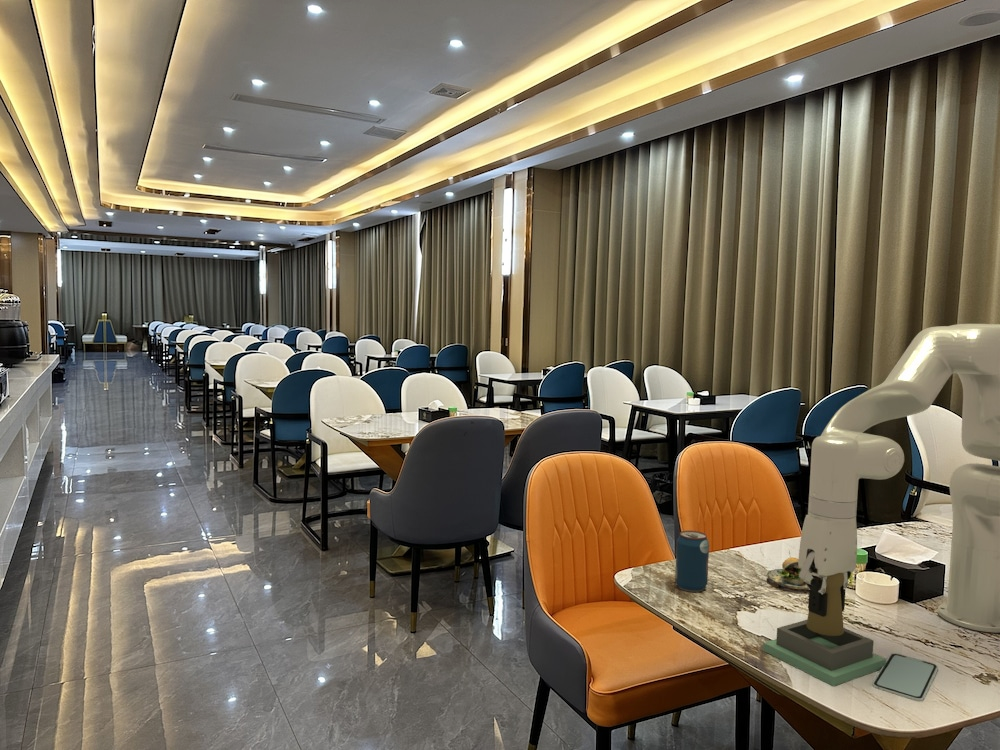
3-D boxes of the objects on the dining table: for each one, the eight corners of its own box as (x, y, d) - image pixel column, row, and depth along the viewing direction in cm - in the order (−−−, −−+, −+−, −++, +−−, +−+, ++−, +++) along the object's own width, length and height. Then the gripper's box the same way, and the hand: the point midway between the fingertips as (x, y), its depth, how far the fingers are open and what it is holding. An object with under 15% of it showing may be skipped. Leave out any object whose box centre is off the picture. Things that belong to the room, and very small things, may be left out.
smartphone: (870, 684, 115) (891, 651, 127) (870, 690, 115) (891, 657, 127) (922, 700, 111) (939, 664, 122) (922, 706, 111) (939, 670, 122)
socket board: (814, 635, 134) (815, 612, 134) (885, 667, 122) (887, 642, 122) (763, 650, 127) (764, 626, 127) (833, 686, 115) (835, 659, 115)
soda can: (713, 590, 156) (716, 537, 155) (687, 594, 153) (689, 540, 152) (694, 580, 162) (696, 528, 161) (668, 583, 160) (670, 531, 159)
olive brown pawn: (848, 637, 121) (852, 574, 120) (810, 633, 122) (813, 571, 121) (838, 623, 127) (842, 562, 126) (802, 619, 128) (806, 559, 127)
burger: (771, 592, 157) (773, 559, 156) (761, 574, 168) (763, 543, 168) (829, 597, 155) (831, 563, 154) (815, 578, 166) (817, 547, 166)
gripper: (843, 498, 130) (837, 595, 131) (781, 507, 122) (775, 612, 123) (882, 507, 124) (875, 610, 125) (819, 518, 115) (813, 628, 117)
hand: (826, 610), depth 124 cm, fingers closed on olive brown pawn, 4 cm apart
